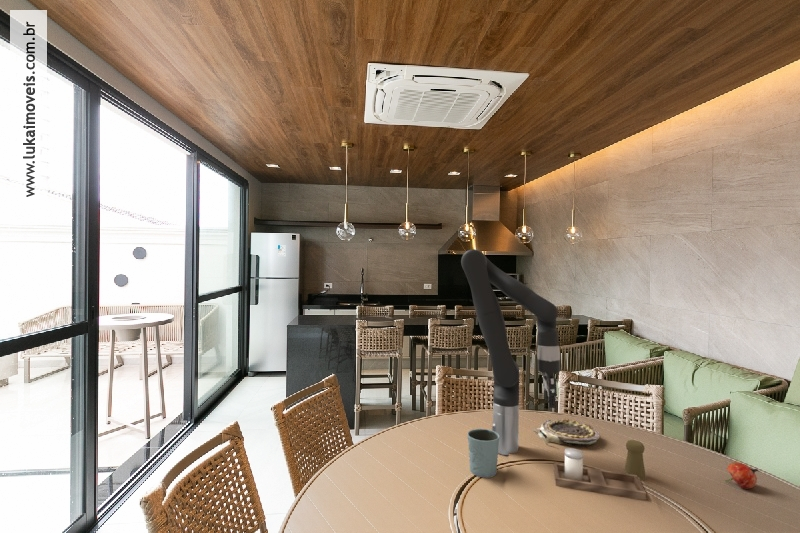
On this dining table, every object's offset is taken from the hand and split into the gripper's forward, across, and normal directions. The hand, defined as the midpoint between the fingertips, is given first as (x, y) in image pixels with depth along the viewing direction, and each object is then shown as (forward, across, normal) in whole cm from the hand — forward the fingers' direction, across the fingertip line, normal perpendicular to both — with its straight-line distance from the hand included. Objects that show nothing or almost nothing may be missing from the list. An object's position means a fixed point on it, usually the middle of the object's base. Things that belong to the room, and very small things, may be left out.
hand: (550, 404), depth 144 cm
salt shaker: (+18, +16, +4) cm, 25 cm away
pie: (+19, -21, +10) cm, 30 cm away
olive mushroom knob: (+20, +6, +24) cm, 32 cm away
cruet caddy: (+20, +17, +10) cm, 28 cm away
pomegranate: (+22, +6, +54) cm, 59 cm away
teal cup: (+18, +16, -24) cm, 34 cm away
